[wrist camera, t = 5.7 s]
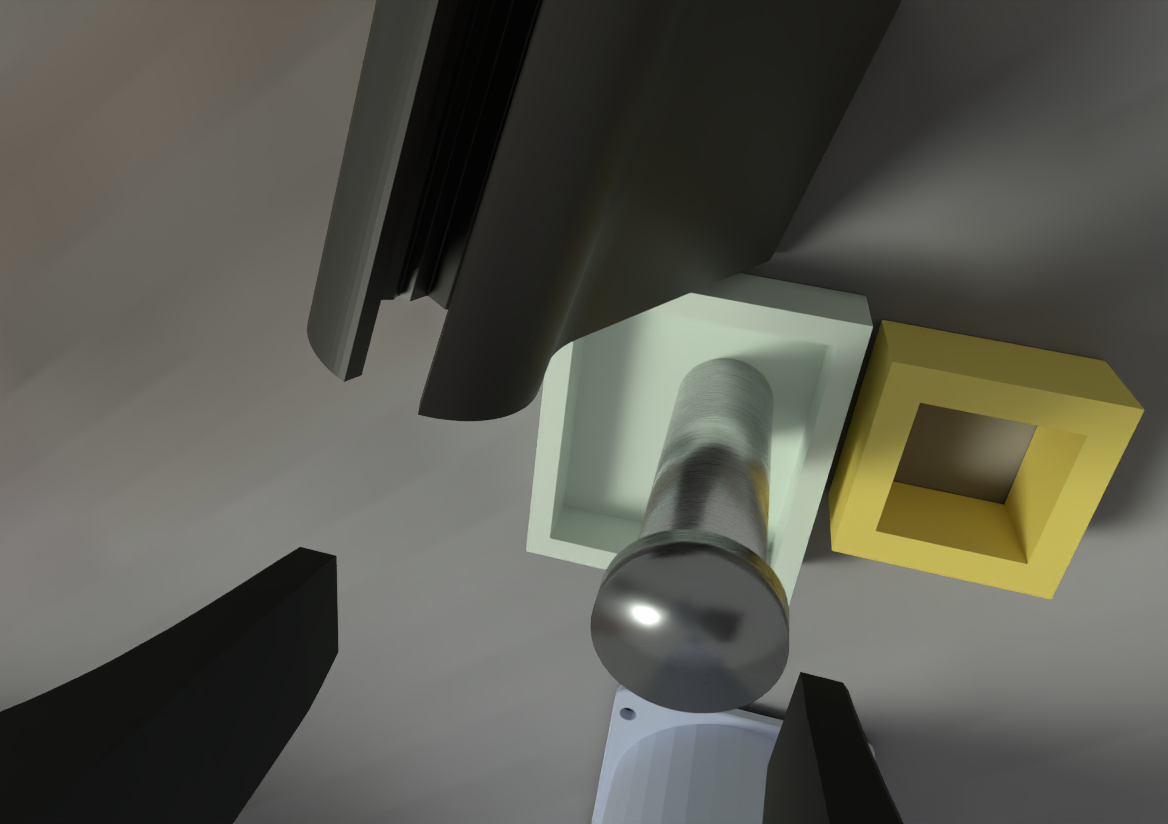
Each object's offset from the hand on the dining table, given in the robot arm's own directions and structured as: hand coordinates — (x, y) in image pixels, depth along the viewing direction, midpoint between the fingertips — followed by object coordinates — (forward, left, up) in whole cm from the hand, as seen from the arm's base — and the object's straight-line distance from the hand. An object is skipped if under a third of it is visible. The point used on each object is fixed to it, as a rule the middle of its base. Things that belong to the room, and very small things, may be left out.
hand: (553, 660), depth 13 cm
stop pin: (0, -2, -10) cm, 10 cm away
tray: (-1, -1, -10) cm, 11 cm away
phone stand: (+8, +1, -11) cm, 13 cm away
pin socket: (0, -8, -10) cm, 13 cm away
